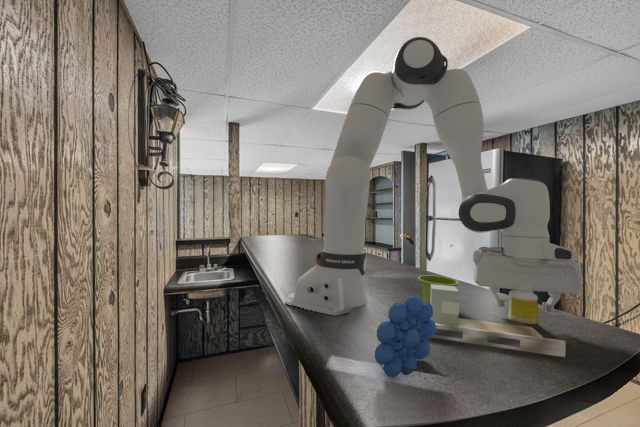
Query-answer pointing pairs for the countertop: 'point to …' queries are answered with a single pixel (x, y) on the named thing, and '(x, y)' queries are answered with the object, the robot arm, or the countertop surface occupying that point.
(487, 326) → the shelf board
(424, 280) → the plant pot
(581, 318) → the countertop surface
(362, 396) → the countertop surface
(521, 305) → the supplement bottle
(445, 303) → the sage tin
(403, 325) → the grapes
